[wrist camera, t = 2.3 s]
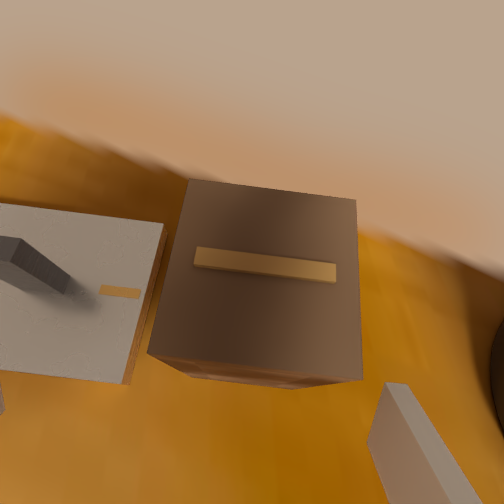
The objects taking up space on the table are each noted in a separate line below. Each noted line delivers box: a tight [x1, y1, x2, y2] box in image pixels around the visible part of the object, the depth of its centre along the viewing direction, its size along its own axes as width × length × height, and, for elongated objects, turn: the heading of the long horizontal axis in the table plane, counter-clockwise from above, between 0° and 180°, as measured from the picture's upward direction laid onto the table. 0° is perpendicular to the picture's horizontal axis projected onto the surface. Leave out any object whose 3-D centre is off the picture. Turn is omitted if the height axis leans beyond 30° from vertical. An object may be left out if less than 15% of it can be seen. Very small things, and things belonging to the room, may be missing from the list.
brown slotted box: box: [147, 178, 363, 389], centre depth 15 cm, size 6×6×11 cm
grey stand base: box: [0, 203, 168, 385], centre depth 17 cm, size 12×10×6 cm
